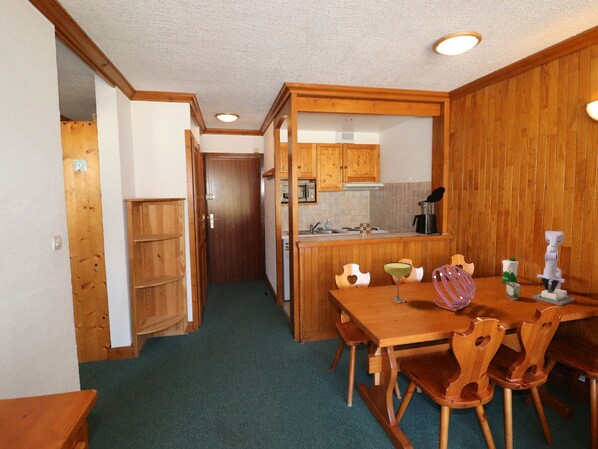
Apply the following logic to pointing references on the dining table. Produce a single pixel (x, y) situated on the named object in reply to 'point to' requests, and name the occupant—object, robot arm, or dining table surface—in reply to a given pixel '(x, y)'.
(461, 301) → the spiral basket
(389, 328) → the dining table surface
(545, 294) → the sliding jaw
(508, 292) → the food container
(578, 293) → the dining table surface
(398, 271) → the cocktail glass
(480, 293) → the dining table surface
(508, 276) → the milk carton
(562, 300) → the base
